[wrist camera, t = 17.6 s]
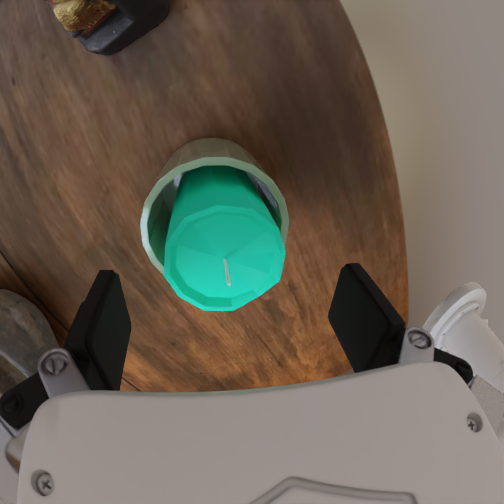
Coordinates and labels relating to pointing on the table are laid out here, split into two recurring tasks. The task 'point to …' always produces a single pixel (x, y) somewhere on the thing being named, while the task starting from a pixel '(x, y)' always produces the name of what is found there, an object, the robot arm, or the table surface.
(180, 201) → the candle
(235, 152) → the tin
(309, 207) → the table surface
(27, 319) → the bowl
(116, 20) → the statue
